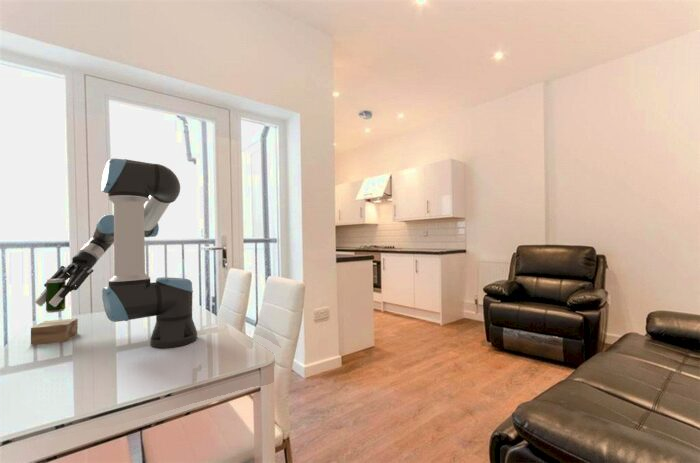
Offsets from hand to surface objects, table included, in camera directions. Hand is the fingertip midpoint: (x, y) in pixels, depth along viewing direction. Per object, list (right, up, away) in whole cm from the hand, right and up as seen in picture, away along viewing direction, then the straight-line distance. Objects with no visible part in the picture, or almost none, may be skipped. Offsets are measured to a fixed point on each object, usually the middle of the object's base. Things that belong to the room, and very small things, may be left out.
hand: (45, 304), depth 117 cm
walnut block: (+1, -14, +3) cm, 14 cm away
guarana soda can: (+1, -4, +4) cm, 5 cm away
